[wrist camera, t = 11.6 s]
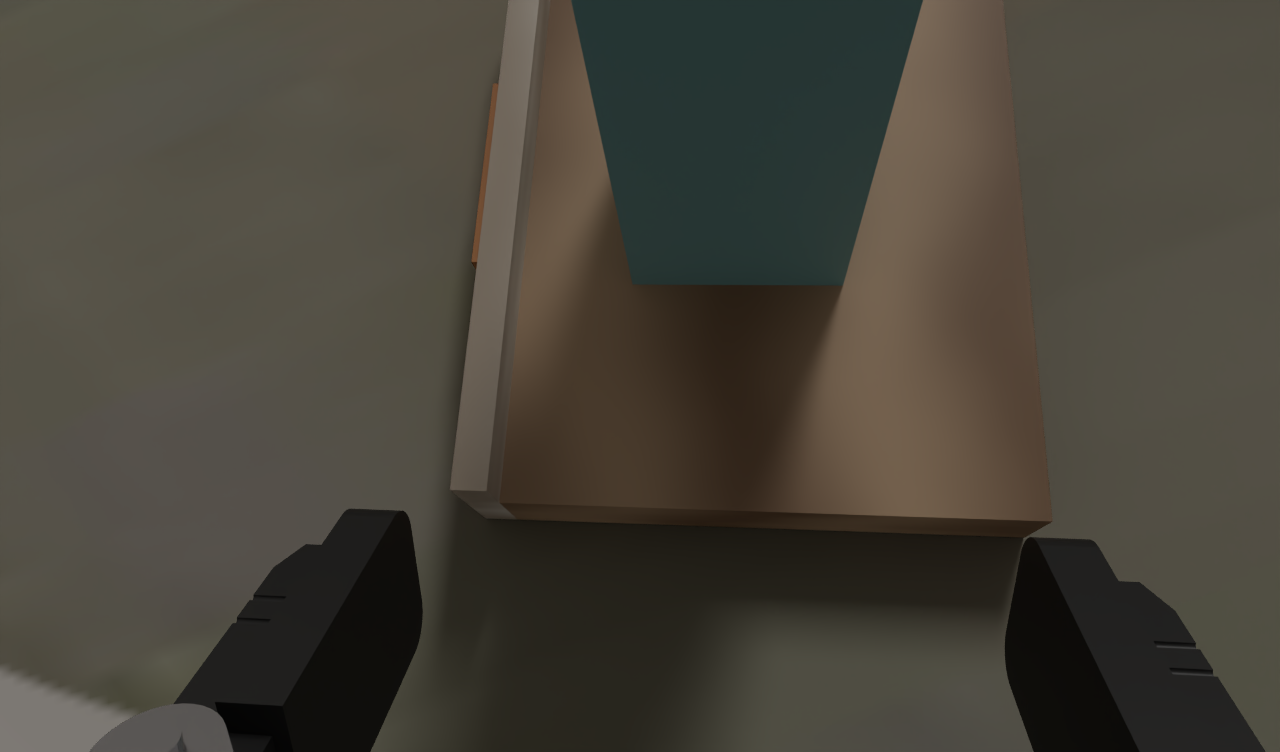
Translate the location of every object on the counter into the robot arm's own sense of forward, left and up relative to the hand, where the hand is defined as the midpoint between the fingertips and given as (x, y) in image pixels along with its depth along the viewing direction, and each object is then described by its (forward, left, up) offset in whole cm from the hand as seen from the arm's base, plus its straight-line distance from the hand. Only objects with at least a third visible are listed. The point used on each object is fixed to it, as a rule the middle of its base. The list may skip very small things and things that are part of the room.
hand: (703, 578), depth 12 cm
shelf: (-1, -10, -10) cm, 14 cm away
